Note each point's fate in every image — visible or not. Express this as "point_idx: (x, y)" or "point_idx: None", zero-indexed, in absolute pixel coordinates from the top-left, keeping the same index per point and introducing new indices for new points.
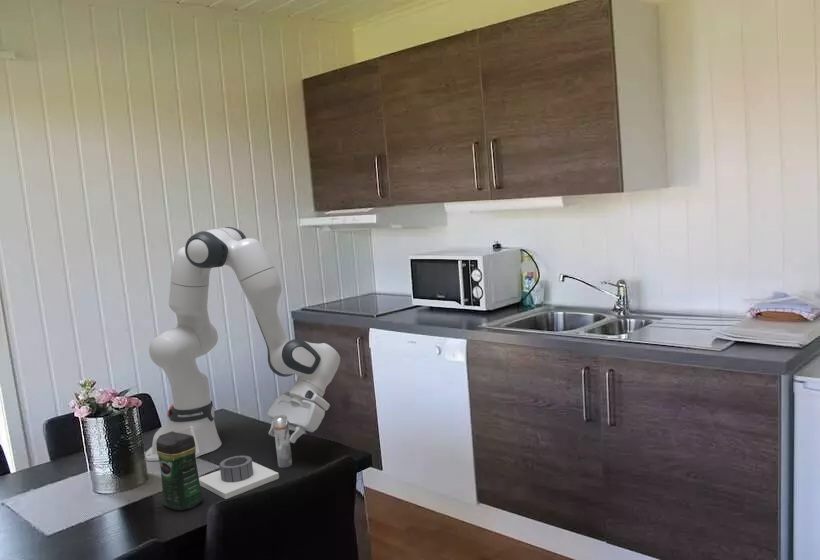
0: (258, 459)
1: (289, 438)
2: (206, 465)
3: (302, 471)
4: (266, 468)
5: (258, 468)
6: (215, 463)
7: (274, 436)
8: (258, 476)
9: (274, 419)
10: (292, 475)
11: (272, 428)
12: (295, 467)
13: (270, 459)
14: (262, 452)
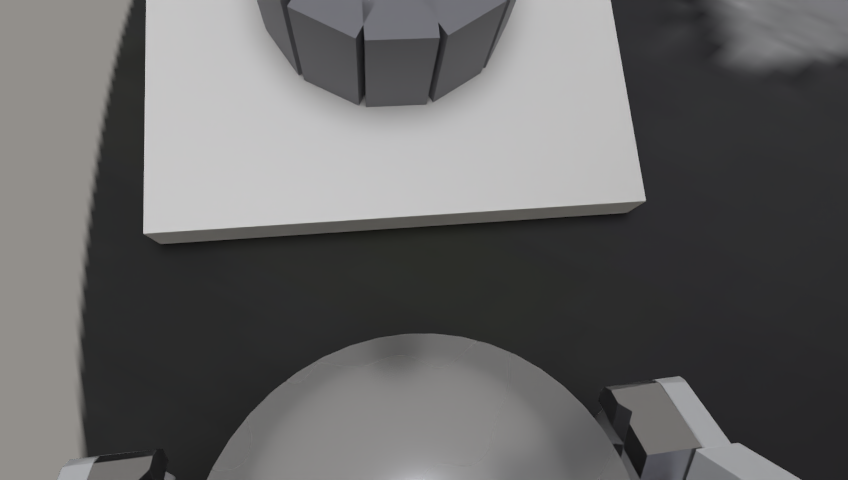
0: (681, 319)
1: (106, 471)
2: (840, 6)
3: None
4: (333, 212)
5: (388, 166)
6: (834, 61)
7: None
8: (229, 89)
9: (381, 346)
10: (116, 353)
11: (688, 447)
12: None
13: None
14: (814, 420)
